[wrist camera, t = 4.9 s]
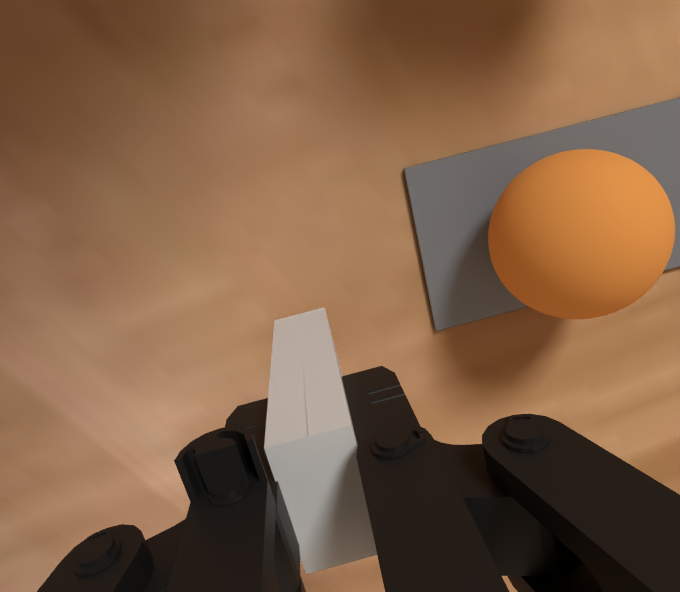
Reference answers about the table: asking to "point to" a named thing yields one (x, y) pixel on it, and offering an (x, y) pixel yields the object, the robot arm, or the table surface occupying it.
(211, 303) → the table surface
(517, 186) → the ball
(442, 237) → the plate
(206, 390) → the table surface
